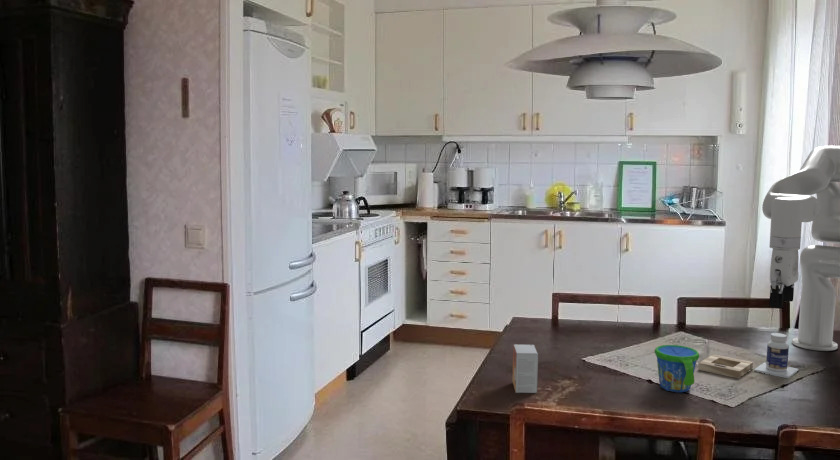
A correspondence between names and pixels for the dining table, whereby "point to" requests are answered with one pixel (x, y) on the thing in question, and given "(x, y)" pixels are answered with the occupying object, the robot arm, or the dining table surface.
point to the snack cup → (676, 367)
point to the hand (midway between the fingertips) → (781, 303)
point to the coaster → (784, 374)
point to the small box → (525, 368)
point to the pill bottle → (777, 352)
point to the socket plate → (725, 366)
